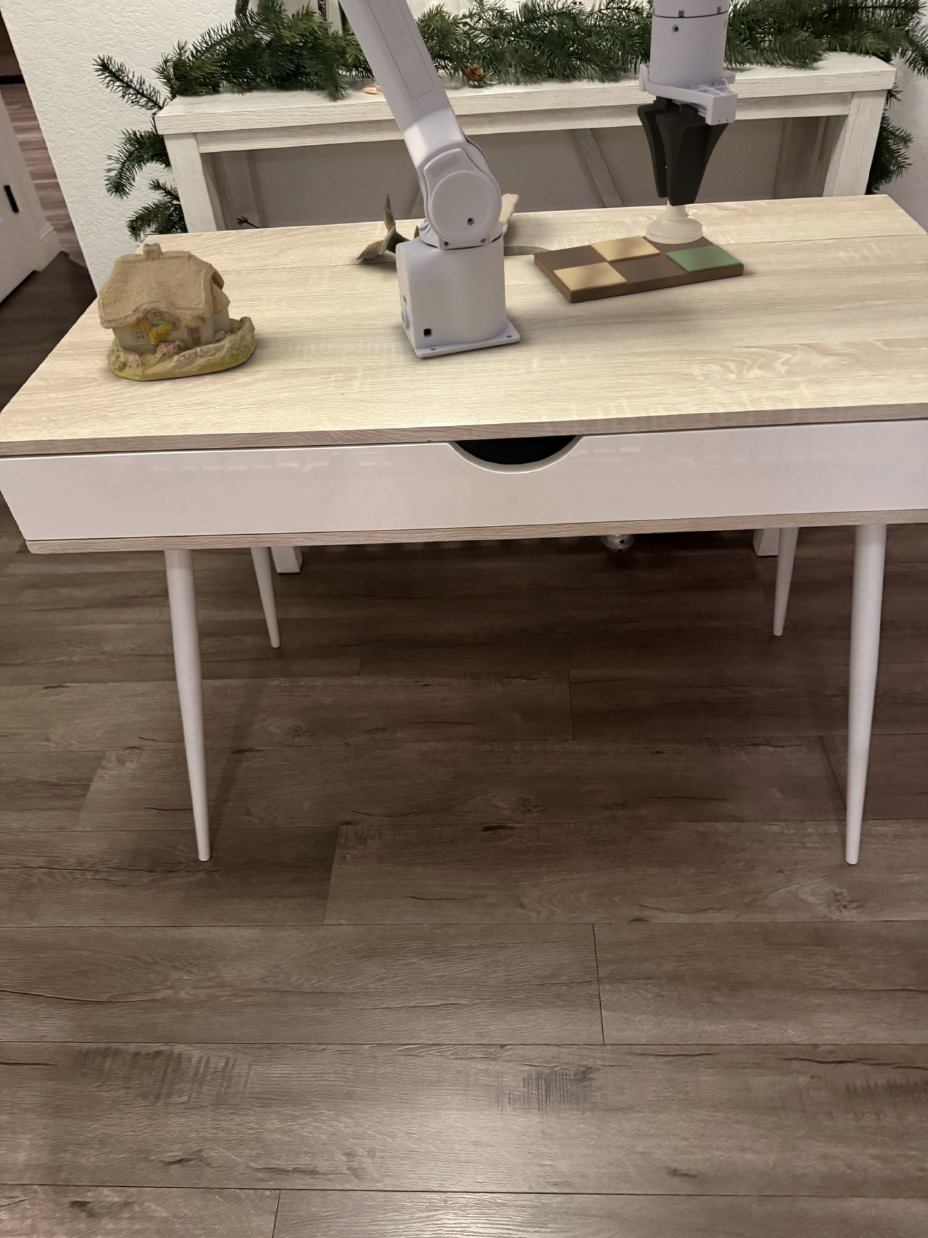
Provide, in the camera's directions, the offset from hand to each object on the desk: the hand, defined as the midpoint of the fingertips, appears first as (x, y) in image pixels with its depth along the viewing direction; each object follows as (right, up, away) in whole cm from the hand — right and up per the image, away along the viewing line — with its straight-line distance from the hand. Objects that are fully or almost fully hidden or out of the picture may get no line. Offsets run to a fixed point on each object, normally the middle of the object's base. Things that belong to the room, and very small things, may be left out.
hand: (676, 199), depth 79 cm
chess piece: (0, -2, +2) cm, 3 cm away
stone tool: (-16, +7, +26) cm, 31 cm away
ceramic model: (-45, -11, +7) cm, 46 cm away
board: (-1, 0, +15) cm, 15 cm away
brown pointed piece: (-26, +3, +21) cm, 34 cm away
